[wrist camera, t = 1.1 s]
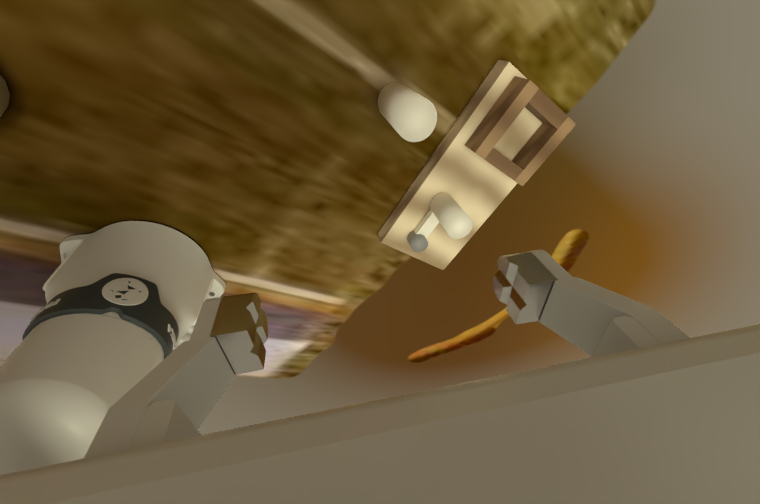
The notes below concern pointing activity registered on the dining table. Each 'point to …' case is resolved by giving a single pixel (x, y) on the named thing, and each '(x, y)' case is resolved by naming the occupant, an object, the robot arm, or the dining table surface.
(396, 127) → the loose leg
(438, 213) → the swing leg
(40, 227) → the dining table surface
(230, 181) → the dining table surface
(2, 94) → the squeeze bottle
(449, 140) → the wooden board with socket
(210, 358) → the robot arm
